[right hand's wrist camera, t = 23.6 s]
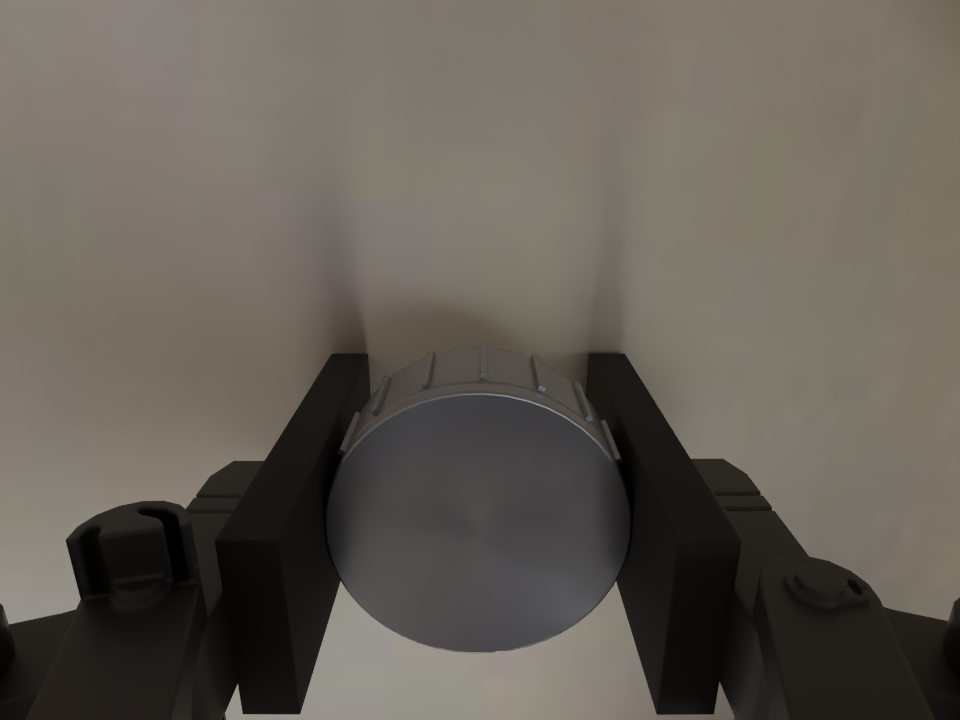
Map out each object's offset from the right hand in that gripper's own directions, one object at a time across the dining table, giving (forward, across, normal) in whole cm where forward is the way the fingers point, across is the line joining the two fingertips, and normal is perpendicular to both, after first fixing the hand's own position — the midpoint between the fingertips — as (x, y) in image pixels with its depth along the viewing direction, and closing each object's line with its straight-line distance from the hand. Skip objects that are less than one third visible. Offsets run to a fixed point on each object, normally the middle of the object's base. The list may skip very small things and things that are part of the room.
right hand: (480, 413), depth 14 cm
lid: (-4, 0, 0) cm, 4 cm away
